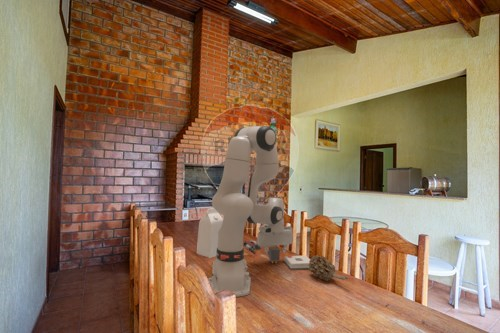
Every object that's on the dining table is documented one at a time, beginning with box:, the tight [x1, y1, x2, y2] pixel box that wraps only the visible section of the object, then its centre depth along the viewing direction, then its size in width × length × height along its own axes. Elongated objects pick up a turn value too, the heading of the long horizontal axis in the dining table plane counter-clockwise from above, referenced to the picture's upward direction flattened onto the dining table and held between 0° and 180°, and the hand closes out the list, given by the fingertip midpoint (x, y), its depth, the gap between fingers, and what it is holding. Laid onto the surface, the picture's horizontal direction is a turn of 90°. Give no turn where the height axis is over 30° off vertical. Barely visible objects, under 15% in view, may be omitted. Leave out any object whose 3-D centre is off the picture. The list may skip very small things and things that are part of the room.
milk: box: [195, 207, 224, 259], centre depth 158 cm, size 12×12×26 cm
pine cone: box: [308, 254, 349, 282], centre depth 121 cm, size 22×10×10 cm, turn 36°
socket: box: [283, 255, 311, 271], centre depth 141 cm, size 12×12×4 cm
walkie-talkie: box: [243, 239, 262, 253], centre depth 169 cm, size 9×4×20 cm
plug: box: [268, 246, 281, 265], centre depth 144 cm, size 6×5×8 cm
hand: (275, 253), depth 144 cm, fingers open, 8 cm apart
